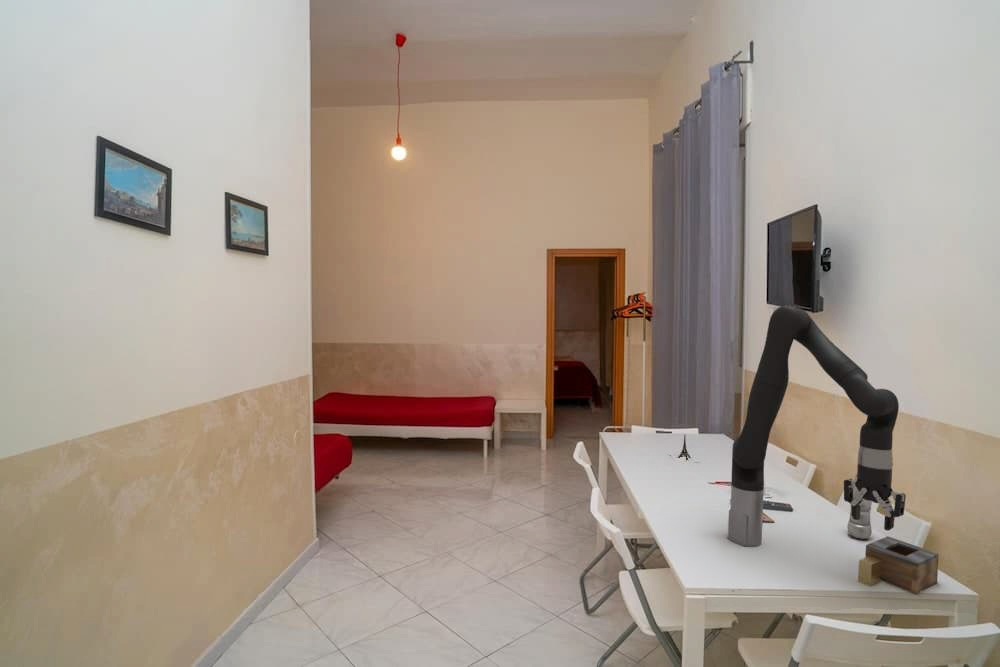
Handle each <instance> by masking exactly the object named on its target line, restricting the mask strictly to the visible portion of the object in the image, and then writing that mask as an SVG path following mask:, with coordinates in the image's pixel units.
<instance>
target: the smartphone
mask: <svg viewBox="0 0 1000 667" xmlns="http://www.w3.org/2000/svg"><path fill="white" fill-rule="evenodd" d="M774 523H775V520H774V519H772V518H771V517H770V516H768V515H767V514H766V513H764V512H763V520H762V524H774Z"/></svg>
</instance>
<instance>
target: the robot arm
mask: <svg viewBox="0 0 1000 667" xmlns="http://www.w3.org/2000/svg"><path fill="white" fill-rule="evenodd" d="M794 341H795V342H798V343H799V344H801V345H802V346H803V347H804V348H805V349H806V350H808V351H809V353H810V354H811V355H812V356H813V357H814V358H815V360H816V361H817V363H818V364H819V366H820V367H821V368H822V370H823V371H824V372H825V373H826V374H827V375H828V376H829V378H831V379H832V380H833V381H834V382H835V383H836V384H837V385H838V386H839V387H841V388H842V389H843V390H844V393H845V394H846V395H847V397H848V398H849V401H851V403H852V404H853V405H854V407H855V408H856V409H858V411H860V412H861V413H862V414H863V415H866V416H867V417H866V421H865V423H863V425H861V427H860V431H859V433H860V434H859V447H858V451H857V452H858V453H857V465H856V466H857V467H856V468H857V470H856V475H857V481H855V480H854V479H852V478H848V479H845V480H843V499H844V500H843V501H844V502H847V503H849V504H850V506H851V505H852V510H851V509H850V512H851V515H852V517H853V519H854V520H859V519H860V509H861V506H860V505H859V504H860V503H861V502H862V501H863V500H864V499H865V500H868V501H872V503H876V504H878V505H879V507H880V508H881V509H882V510H883V512H884V514H885V515H884V526H883V529H884V530H885V531H891V530H892V529H894V526H895V518H899V517H902V516H904V514H905V505H906V498H907V496H906V494H905V493H904V492H901V493H900V492H897V491H894V490H893V489H892V481H893V479H892V478H893V466H894V462H893V458H894V457H893V433H894V429H895V426H896V424H897V423H896V422H897V418H898V415H899V410H900V408H899V406H900V405H899V399H898V397H897V395H896V394H895V393H894V392H893V391H891V390H890V389H886V388H875V387H874V386H873V385H872V383H870V382H869V381H868V379H869V378H868V374H867V373H866V372H865V370H863V369H862V368H861V367H860V366H859V365H858V364H857V363H856V362H855V361H854V360H852V359H851V358H850V357H849V356H848V355H847V354H846V353H844V352H843V351H842V350H841V349H840V348H839V347H837V345H835V344H834V342H833V341H831V339H829V337H827V336H826V334H825V333H824V332H823V331H822V330H821V329H820V327H819V326H818V325H817V324H816V323H815V320H814V319H813V318H812V317H811V316H810V314H809V313H808V312H806V310H804V309H802V308H799V307H795V306H792V305H782V306H779V307H777V308H776V309H775V310H774V311H773V313H772V314H771V316H770V318H769V321H768V326H767V332H766V338H765V342H764V347H763V349H762V354H761V357H760V360H759V363H758V367H757V370H756V373H755V375H754V378H753V381H752V385H751V387H750V391H749V395H748V401H747V409H746V417H745V422H744V425H743V428H742V430H741V432H740V434H739V436H738V437H736V438H735V440H734V441H733V443H732V450H731V452H732V453H731V454H732V456H731V459H732V460H731V482H730V483H731V484H730V487H731V488H730V490H731V491H730V509H729V510H728V523H727V524H728V525H727V528H728V529H727V539H728V540H730V541H732V542H734V543H737V544H738V545H741V546H743V547H758V546H760V545H762V541H763V540H762V539H763V523H762V520H763V513H764V498H763V497H764V496H765V495H764V485H765V460H766V456H767V455H766V454H767V449H768V444H769V439H770V435H771V430H772V428H773V426H774V423H775V421H776V418H777V416H778V413H779V412H780V409H781V406H782V403H783V401H784V398H785V394H786V391H787V388H788V385H789V378H790V377H789V376H790V375H789V374H790V373H789V372H790V371H789V356H790V351H791V348H792V345H793V342H794ZM855 486H856V487H857V489H858V491H859V493H858V494H857V495H856V496H855V498H853V488H854V487H855ZM891 496H892V499H893V501H894V507H893V503H892V501H891V500H890V497H891Z"/></svg>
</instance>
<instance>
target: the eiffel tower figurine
mask: <svg viewBox="0 0 1000 667" xmlns="http://www.w3.org/2000/svg"><path fill="white" fill-rule="evenodd" d="M683 436H684V437H683V438H684V439H683V445H682V446H683V447H682V450H681V452H680V454H679V456H678V457H677V458H680V457H686V461H687V460H688V458H691V459H692V457H691V456H690V454H689V451H688V450H687V444H686V442H687V440H686V434H684V435H683ZM687 457H688V458H687ZM688 461H689V460H688Z"/></svg>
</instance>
